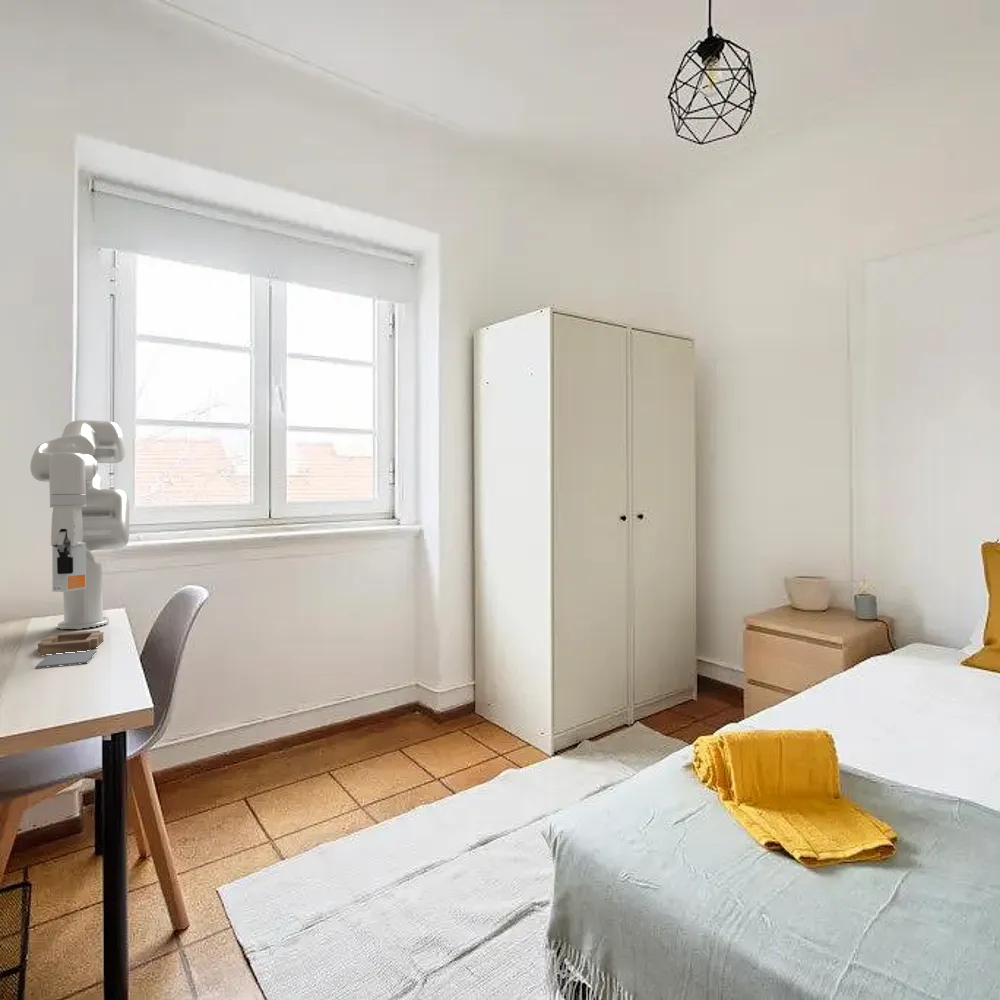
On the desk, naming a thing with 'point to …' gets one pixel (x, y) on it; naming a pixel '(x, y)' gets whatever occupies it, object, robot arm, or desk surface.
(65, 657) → the grey rubber mat
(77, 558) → the skincare box
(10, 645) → the desk surface
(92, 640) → the box
